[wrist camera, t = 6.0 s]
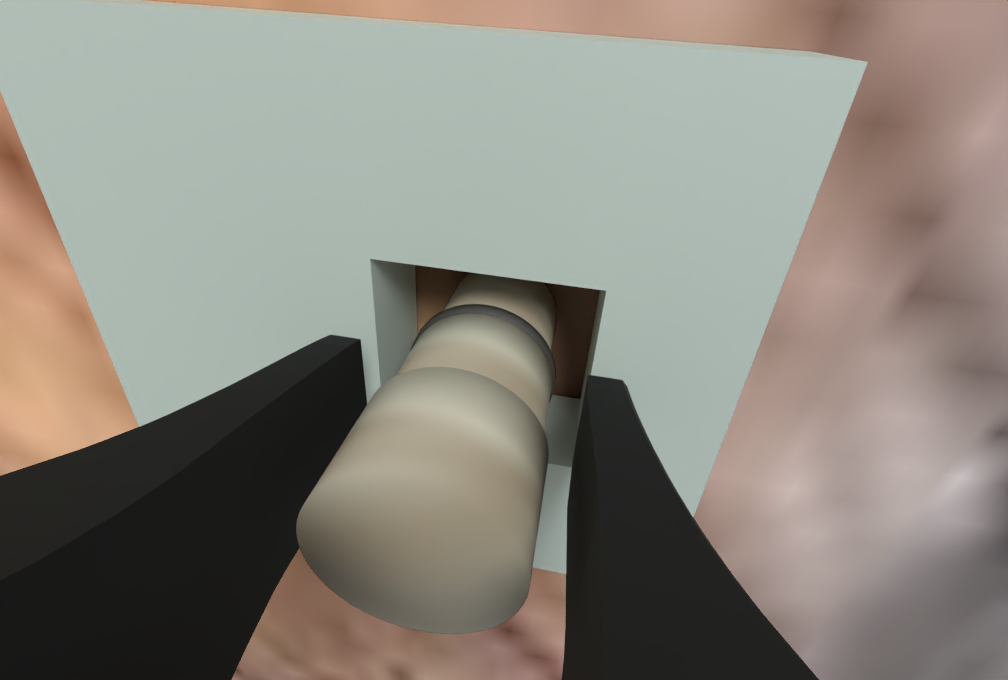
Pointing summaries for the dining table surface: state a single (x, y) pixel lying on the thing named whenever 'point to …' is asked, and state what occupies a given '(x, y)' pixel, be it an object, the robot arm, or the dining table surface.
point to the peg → (445, 469)
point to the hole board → (420, 194)
